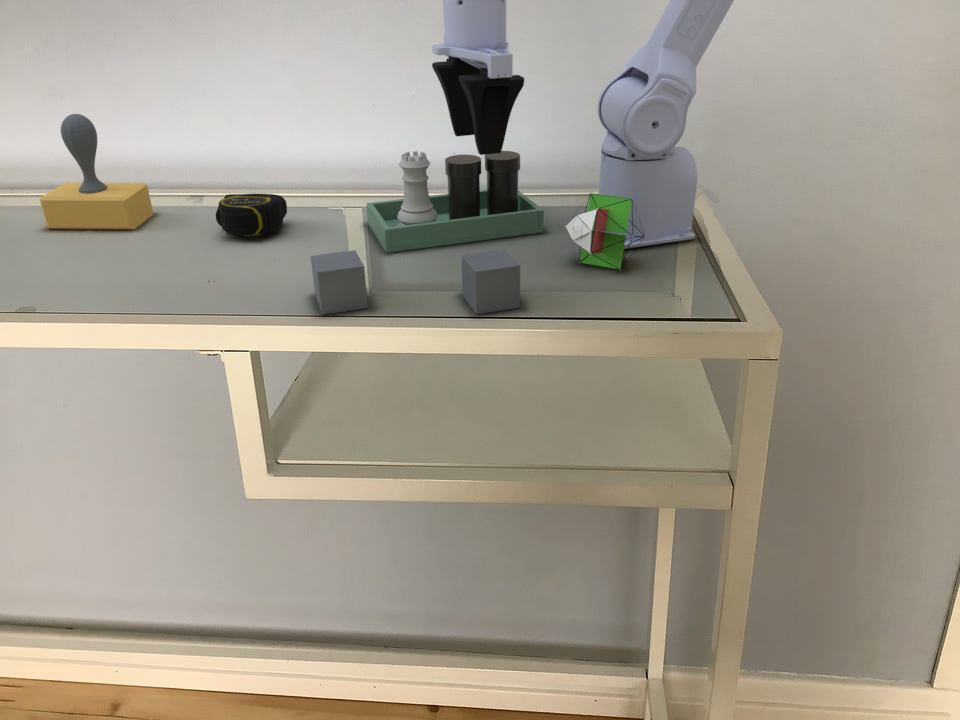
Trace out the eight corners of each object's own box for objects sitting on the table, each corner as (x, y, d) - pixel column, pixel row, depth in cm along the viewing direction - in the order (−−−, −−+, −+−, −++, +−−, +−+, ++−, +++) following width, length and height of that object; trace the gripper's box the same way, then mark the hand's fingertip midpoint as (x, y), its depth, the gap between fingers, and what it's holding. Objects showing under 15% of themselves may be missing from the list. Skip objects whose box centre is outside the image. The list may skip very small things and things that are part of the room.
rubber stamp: (46, 229, 90) (14, 120, 84) (72, 213, 95) (44, 108, 89) (133, 230, 90) (107, 120, 84) (154, 213, 95) (131, 108, 89)
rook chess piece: (391, 234, 86) (386, 159, 82) (404, 220, 90) (400, 148, 86) (432, 237, 85) (428, 161, 81) (443, 223, 89) (440, 149, 85)
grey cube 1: (359, 290, 74) (355, 249, 72) (368, 308, 71) (364, 265, 69) (315, 297, 73) (310, 255, 71) (322, 315, 70) (317, 272, 68)
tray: (513, 207, 95) (513, 186, 94) (543, 232, 87) (543, 210, 86) (368, 224, 90) (366, 202, 89) (386, 253, 82) (384, 229, 81)
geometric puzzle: (591, 217, 84) (574, 171, 77) (656, 226, 81) (645, 179, 74) (569, 277, 82) (550, 236, 75) (635, 289, 79) (621, 247, 72)
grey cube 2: (504, 290, 74) (504, 249, 72) (519, 307, 71) (520, 265, 69) (462, 296, 73) (461, 254, 71) (476, 314, 70) (475, 271, 68)
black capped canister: (512, 210, 92) (512, 149, 89) (524, 221, 89) (525, 157, 85) (480, 214, 91) (480, 152, 88) (492, 225, 88) (491, 161, 84)
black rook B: (475, 215, 91) (474, 153, 87) (486, 226, 88) (485, 161, 84) (443, 219, 90) (440, 156, 86) (453, 230, 87) (450, 165, 83)
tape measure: (291, 221, 92) (286, 189, 90) (276, 242, 86) (271, 208, 84) (231, 221, 92) (225, 189, 90) (212, 243, 86) (206, 208, 84)
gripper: (411, -13, 78) (418, 131, 84) (455, 0, 66) (459, 166, 72) (481, -16, 80) (483, 125, 86) (536, -4, 68) (533, 158, 74)
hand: (477, 143), depth 79 cm, fingers open, 7 cm apart
